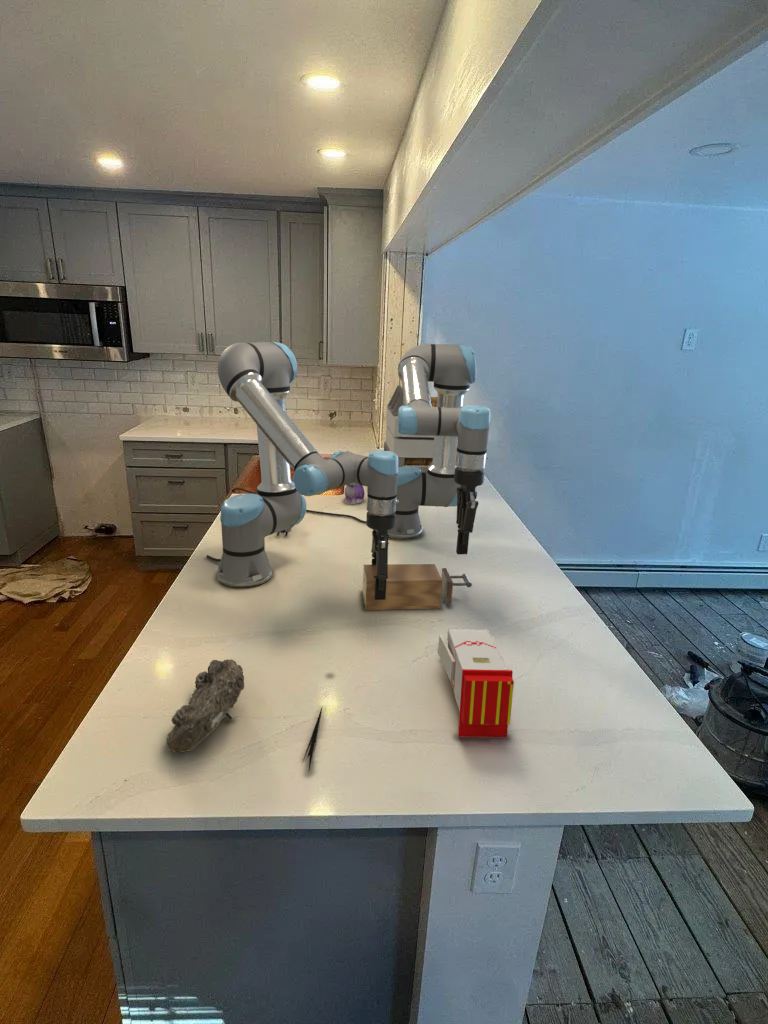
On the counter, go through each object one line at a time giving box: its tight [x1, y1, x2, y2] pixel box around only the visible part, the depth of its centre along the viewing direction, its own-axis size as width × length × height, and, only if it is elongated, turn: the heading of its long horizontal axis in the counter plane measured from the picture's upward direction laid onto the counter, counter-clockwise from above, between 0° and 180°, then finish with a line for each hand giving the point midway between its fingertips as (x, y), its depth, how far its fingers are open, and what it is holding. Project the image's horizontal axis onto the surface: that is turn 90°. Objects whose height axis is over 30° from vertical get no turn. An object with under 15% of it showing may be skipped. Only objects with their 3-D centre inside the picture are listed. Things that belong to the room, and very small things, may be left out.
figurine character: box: [276, 526, 295, 537], centre depth 197 cm, size 7×8×15 cm
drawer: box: [440, 567, 473, 605], centre depth 154 cm, size 24×9×7 cm, turn 96°
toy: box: [437, 628, 515, 738], centre depth 117 cm, size 12×13×30 cm
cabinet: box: [362, 563, 442, 611], centre depth 153 cm, size 20×10×8 cm, turn 96°
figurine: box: [343, 483, 366, 505], centre depth 228 cm, size 9×10×15 cm
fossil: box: [166, 658, 245, 754], centre depth 106 cm, size 22×10×15 cm
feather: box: [301, 673, 332, 771], centre depth 108 cm, size 2×28×2 cm
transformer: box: [383, 384, 438, 467], centre depth 268 cm, size 34×33×41 cm
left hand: (378, 589), depth 153 cm, fingers closed on cabinet, 10 cm apart
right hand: (461, 553), depth 152 cm, fingers closed
